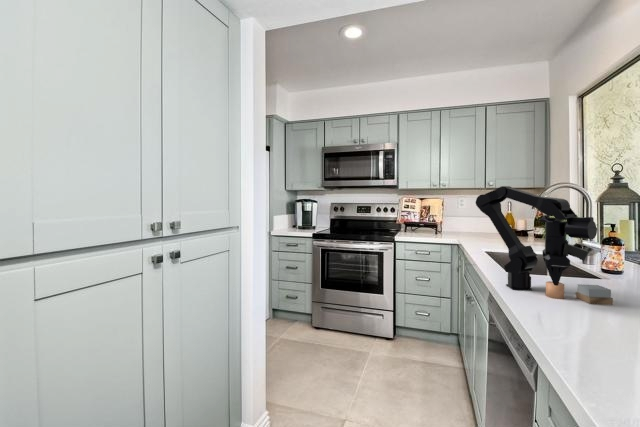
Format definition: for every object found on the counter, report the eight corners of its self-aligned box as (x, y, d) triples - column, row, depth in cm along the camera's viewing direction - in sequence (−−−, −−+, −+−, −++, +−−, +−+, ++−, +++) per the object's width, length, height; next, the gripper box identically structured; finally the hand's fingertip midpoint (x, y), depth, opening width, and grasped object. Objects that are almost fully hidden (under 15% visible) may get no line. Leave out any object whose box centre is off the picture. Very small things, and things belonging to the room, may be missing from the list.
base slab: (589, 305, 100) (589, 297, 100) (575, 299, 106) (576, 291, 106) (612, 306, 99) (612, 298, 99) (597, 299, 105) (597, 292, 105)
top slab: (588, 296, 100) (588, 289, 100) (577, 291, 106) (577, 284, 106) (610, 297, 99) (610, 289, 99) (597, 292, 105) (597, 285, 105)
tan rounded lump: (551, 298, 106) (551, 285, 106) (542, 294, 111) (542, 281, 111) (567, 299, 105) (567, 285, 105) (558, 294, 110) (558, 281, 110)
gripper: (592, 240, 95) (590, 292, 96) (581, 234, 111) (580, 278, 111) (546, 238, 101) (545, 287, 102) (542, 232, 117) (541, 275, 117)
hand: (554, 282), depth 108 cm, fingers open, 9 cm apart
